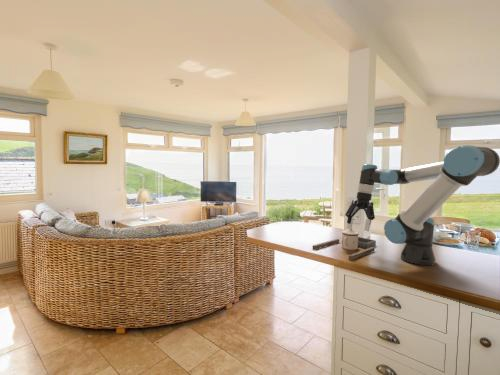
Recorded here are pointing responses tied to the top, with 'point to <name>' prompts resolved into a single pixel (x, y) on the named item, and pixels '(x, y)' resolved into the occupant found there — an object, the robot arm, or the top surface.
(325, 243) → the walnut rail lane
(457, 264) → the top surface
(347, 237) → the teacup with lid
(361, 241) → the bin
